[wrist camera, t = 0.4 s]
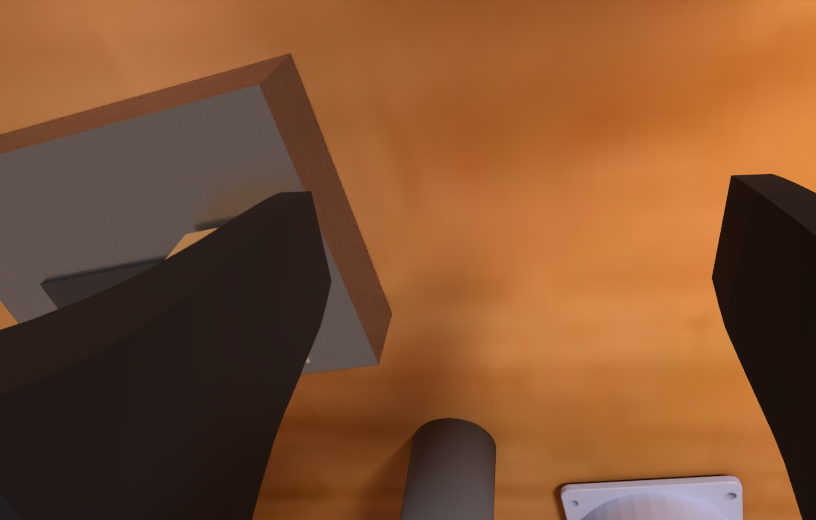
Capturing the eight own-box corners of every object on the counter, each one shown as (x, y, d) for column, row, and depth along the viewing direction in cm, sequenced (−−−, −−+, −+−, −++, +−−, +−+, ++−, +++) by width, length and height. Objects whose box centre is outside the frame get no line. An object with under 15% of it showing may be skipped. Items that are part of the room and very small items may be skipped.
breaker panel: (391, 313, 26) (377, 368, 23) (116, 352, 29) (77, 403, 27) (290, 53, 20) (256, 86, 17) (-34, 144, 24) (-102, 182, 21)
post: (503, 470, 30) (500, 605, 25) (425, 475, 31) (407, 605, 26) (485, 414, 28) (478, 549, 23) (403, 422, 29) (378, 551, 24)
